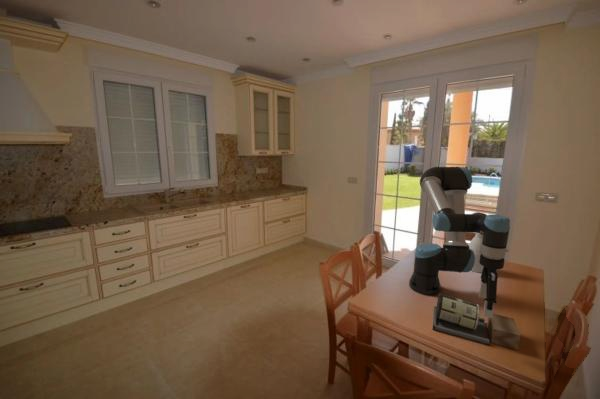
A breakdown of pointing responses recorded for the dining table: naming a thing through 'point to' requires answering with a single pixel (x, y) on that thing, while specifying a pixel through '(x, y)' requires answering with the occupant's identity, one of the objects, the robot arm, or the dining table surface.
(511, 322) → the ledge block
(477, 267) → the bottle
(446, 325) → the tray mat
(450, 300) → the coffee can
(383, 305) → the dining table surface
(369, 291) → the dining table surface
